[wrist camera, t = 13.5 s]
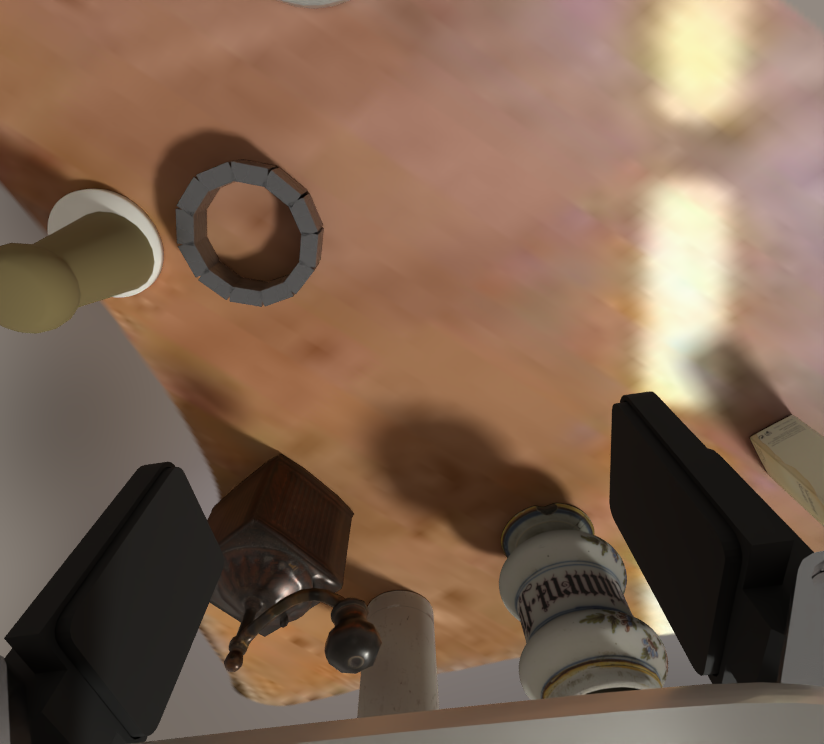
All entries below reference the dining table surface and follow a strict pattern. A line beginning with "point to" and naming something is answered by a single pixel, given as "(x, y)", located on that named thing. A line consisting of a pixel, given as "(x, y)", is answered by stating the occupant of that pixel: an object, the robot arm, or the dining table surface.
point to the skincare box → (795, 461)
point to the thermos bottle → (400, 657)
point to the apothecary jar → (574, 609)
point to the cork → (71, 271)
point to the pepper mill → (288, 562)
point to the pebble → (113, 202)
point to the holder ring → (204, 256)
